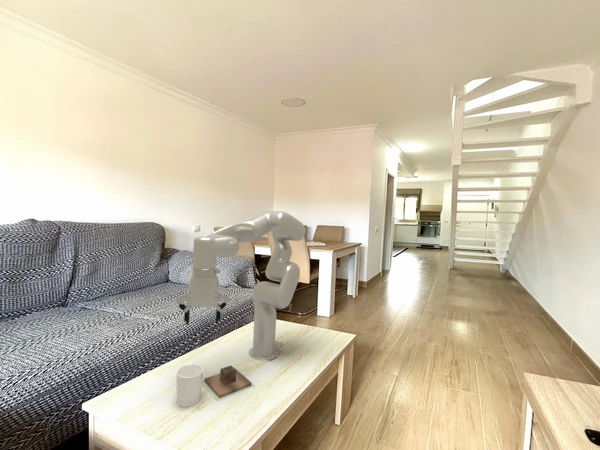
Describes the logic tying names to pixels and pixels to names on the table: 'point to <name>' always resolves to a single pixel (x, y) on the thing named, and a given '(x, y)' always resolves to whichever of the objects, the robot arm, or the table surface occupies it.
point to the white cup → (189, 385)
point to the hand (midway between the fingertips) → (202, 322)
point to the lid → (227, 382)
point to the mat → (227, 395)
